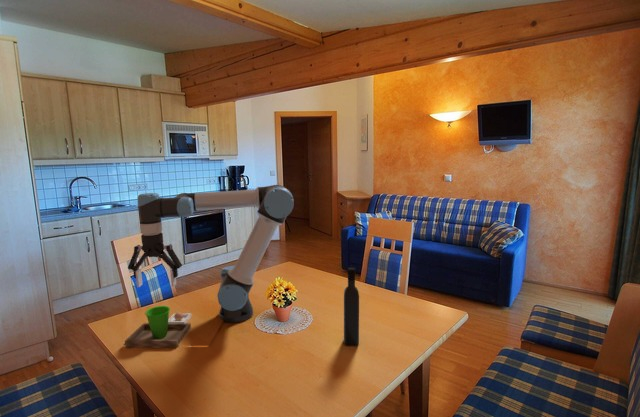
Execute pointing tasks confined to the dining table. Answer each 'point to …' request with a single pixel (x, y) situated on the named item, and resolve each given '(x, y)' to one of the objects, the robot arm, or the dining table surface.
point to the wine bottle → (351, 310)
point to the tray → (146, 340)
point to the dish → (183, 320)
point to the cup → (158, 321)
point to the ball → (178, 316)
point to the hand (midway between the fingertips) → (157, 285)
